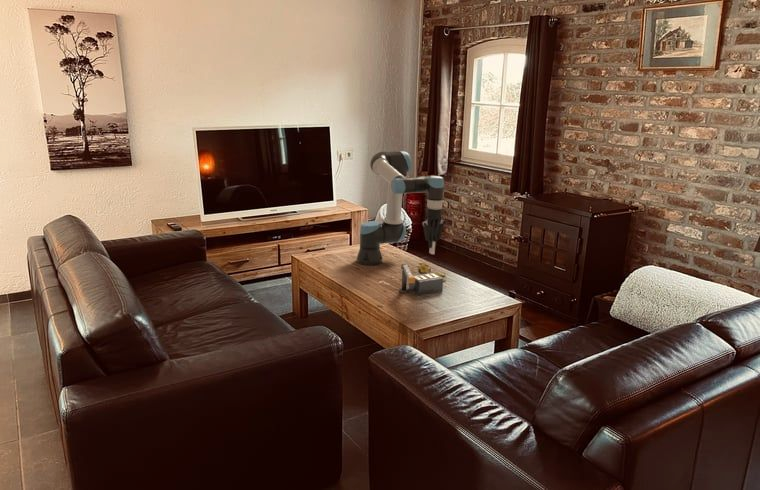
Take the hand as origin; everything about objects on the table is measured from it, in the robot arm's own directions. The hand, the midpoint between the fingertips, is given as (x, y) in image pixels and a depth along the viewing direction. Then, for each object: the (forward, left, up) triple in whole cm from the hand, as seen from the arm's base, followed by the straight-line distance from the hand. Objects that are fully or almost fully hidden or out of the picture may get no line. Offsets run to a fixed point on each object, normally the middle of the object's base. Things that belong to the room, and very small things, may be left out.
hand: (431, 253), depth 294 cm
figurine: (-14, +10, -19) cm, 26 cm away
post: (-2, -14, -19) cm, 24 cm away
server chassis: (+1, -3, -19) cm, 19 cm away
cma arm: (+7, -18, -7) cm, 20 cm away
